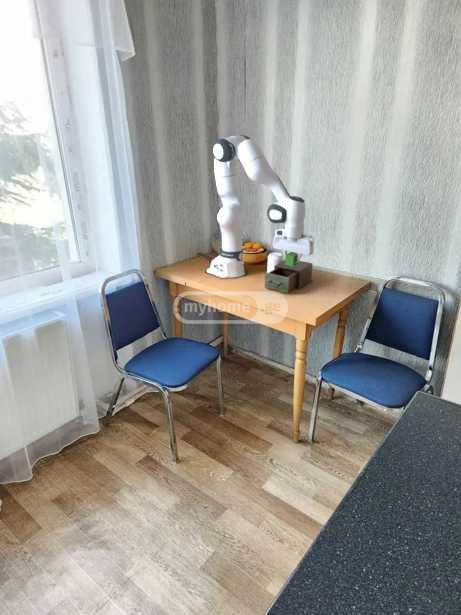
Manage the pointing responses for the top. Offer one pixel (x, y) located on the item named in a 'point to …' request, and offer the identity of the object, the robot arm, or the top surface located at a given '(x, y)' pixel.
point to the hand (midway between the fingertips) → (291, 260)
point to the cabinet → (299, 271)
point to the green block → (291, 259)
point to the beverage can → (274, 261)
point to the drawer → (281, 280)
